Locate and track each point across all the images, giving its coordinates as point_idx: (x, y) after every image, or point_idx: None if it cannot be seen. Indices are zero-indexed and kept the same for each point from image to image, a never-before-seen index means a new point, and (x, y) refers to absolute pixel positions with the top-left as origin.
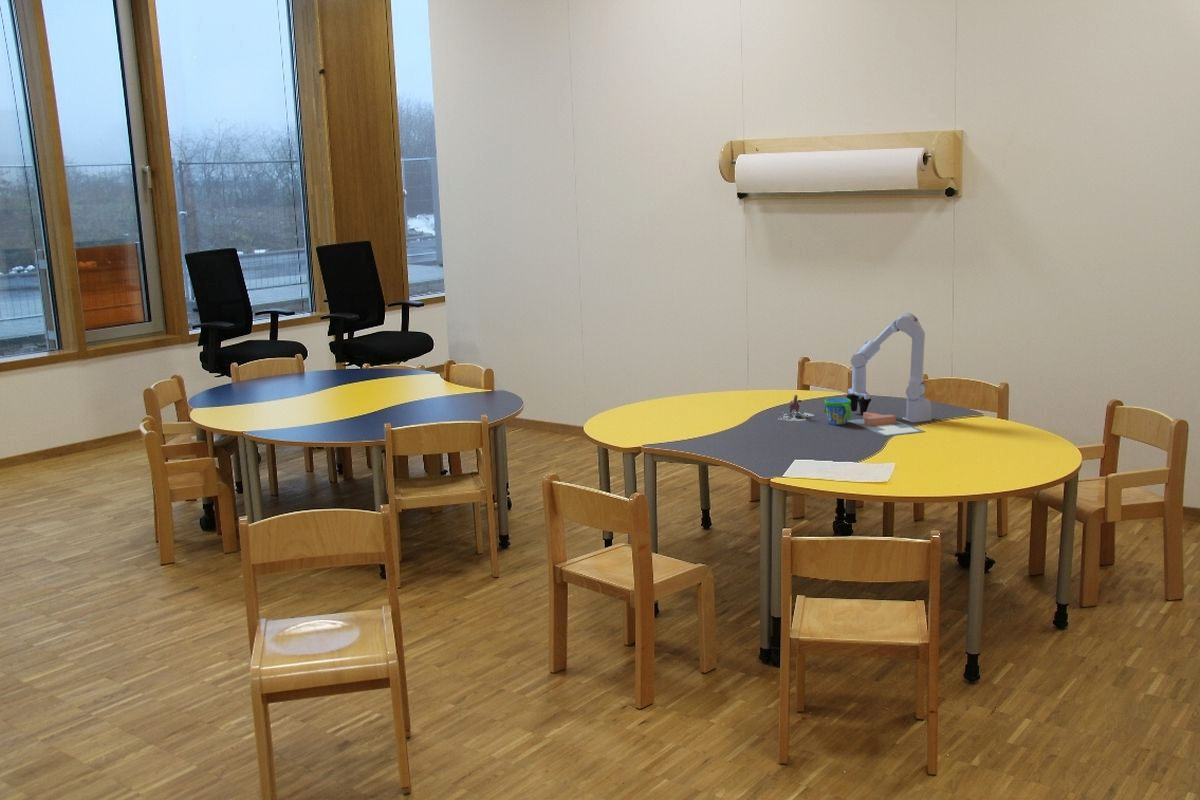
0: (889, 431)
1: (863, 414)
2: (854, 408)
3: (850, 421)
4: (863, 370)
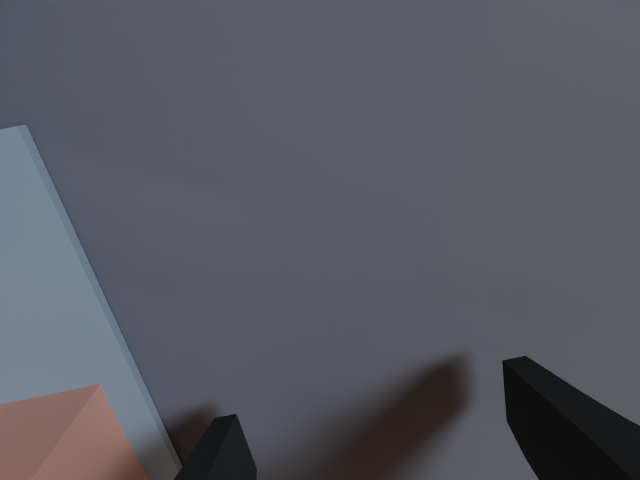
0: None
1: (47, 447)
2: (530, 428)
3: None
4: None
